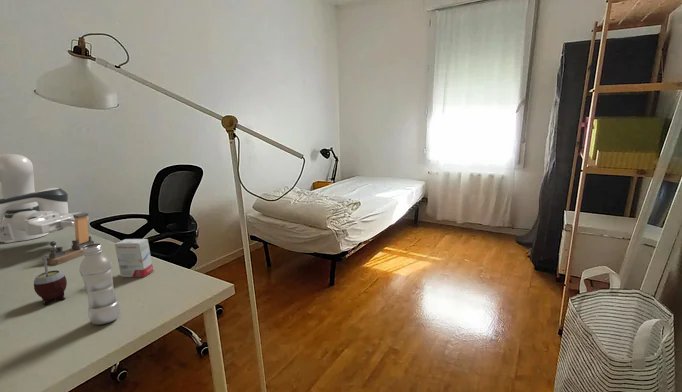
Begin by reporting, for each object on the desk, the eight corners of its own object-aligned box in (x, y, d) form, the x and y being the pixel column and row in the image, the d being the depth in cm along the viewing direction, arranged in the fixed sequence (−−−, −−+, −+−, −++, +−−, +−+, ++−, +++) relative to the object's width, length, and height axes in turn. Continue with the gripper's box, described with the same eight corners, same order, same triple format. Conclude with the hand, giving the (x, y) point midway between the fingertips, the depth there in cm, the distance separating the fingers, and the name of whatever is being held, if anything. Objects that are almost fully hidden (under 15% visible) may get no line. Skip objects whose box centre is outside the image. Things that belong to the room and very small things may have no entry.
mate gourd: (53, 294, 100) (42, 246, 97) (78, 293, 99) (68, 245, 96) (29, 307, 92) (16, 256, 89) (57, 306, 92) (45, 255, 89)
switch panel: (43, 263, 124) (40, 249, 123) (85, 248, 139) (82, 235, 138) (58, 264, 122) (55, 250, 121) (98, 249, 137) (95, 236, 136)
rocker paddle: (75, 243, 132) (73, 214, 130) (85, 239, 136) (83, 212, 134) (79, 244, 132) (77, 216, 129) (89, 240, 136) (88, 213, 133)
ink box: (154, 271, 114) (148, 238, 111) (144, 277, 109) (138, 243, 106) (130, 270, 114) (125, 238, 112) (120, 277, 110) (113, 243, 107)
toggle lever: (51, 252, 124) (47, 242, 124) (56, 250, 126) (52, 241, 125) (55, 251, 124) (51, 241, 123) (60, 249, 125) (56, 240, 125)
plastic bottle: (100, 314, 87) (85, 242, 83) (127, 312, 88) (114, 240, 84) (84, 329, 81) (67, 251, 77) (113, 327, 81) (98, 249, 77)
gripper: (74, 222, 147) (100, 223, 145) (22, 237, 128) (51, 238, 125) (71, 208, 146) (97, 209, 143) (19, 221, 127) (48, 222, 124)
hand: (75, 223), depth 134 cm, fingers closed
